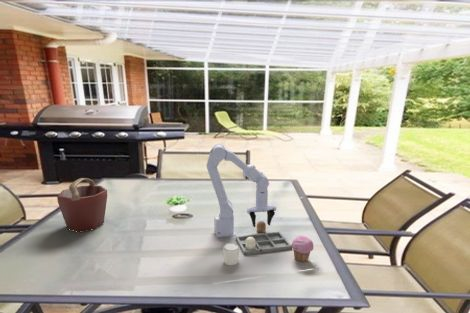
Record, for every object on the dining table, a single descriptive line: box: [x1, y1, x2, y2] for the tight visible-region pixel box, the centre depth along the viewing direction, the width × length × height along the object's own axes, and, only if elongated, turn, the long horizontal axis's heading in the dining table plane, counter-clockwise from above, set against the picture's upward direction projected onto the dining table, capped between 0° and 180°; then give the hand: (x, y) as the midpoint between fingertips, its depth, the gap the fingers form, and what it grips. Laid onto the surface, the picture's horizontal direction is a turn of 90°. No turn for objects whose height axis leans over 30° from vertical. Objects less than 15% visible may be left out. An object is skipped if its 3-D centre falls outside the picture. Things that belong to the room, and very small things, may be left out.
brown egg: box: [256, 220, 267, 234], centre depth 154 cm, size 4×4×6 cm
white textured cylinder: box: [222, 242, 240, 266], centre depth 126 cm, size 7×7×7 cm
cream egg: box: [246, 237, 256, 251], centre depth 136 cm, size 4×4×6 cm
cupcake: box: [291, 235, 314, 263], centre depth 128 cm, size 9×9×10 cm
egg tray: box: [235, 231, 293, 256], centre depth 141 cm, size 22×15×2 cm
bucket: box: [56, 177, 108, 233], centre depth 160 cm, size 24×22×25 cm
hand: (261, 225), depth 154 cm, fingers open, 7 cm apart
